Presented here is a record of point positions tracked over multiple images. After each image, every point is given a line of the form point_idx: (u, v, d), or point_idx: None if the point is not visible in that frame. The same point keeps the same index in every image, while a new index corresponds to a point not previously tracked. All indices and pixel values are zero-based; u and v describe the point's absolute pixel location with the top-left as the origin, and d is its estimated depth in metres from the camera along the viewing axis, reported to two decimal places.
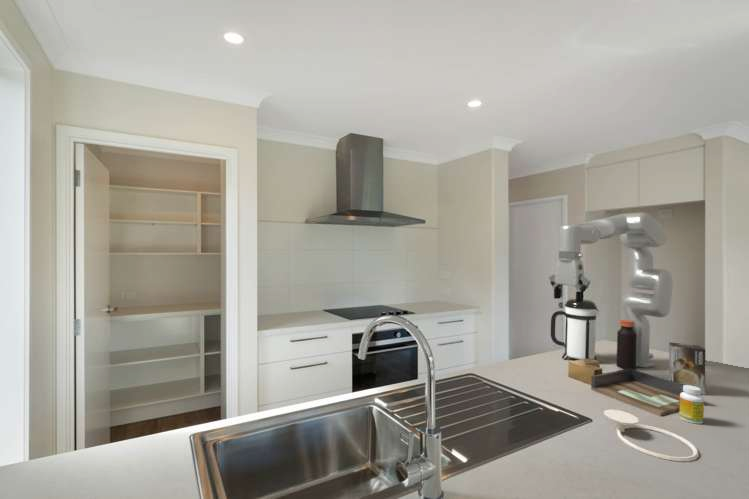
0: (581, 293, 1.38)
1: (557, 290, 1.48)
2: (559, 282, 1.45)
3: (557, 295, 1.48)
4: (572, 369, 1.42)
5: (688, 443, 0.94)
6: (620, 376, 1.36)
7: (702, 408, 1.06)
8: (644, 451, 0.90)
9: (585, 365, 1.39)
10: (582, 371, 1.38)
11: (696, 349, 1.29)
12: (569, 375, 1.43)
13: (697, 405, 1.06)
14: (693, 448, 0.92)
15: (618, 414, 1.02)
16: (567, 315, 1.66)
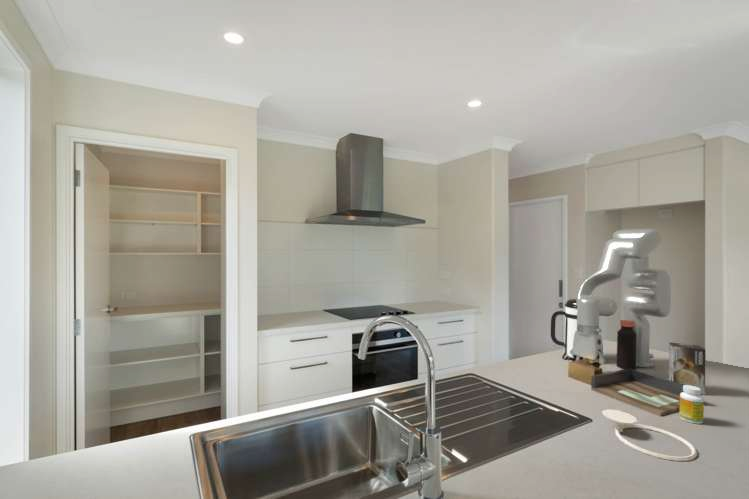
0: None
1: None
2: (577, 354, 1.46)
3: None
4: (572, 369, 1.42)
5: (686, 442, 0.95)
6: (620, 376, 1.36)
7: (702, 408, 1.06)
8: (643, 451, 0.90)
9: (585, 365, 1.39)
10: (582, 371, 1.38)
11: (696, 349, 1.29)
12: (569, 375, 1.43)
13: (697, 405, 1.06)
14: (691, 447, 0.92)
15: (617, 414, 1.02)
16: (567, 315, 1.66)
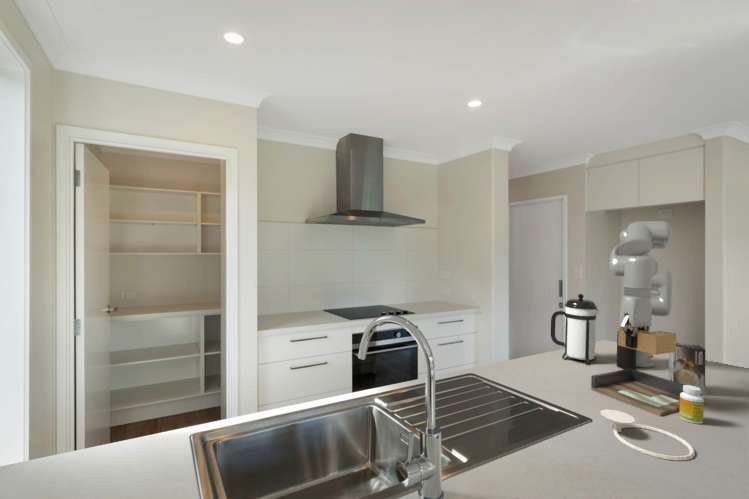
0: None
1: None
2: (638, 325, 1.21)
3: None
4: (659, 343, 1.17)
5: (684, 442, 0.95)
6: (620, 376, 1.36)
7: (702, 408, 1.06)
8: (642, 451, 0.90)
9: (661, 333, 1.20)
10: (667, 340, 1.19)
11: (696, 349, 1.29)
12: (656, 352, 1.17)
13: (697, 405, 1.06)
14: (689, 447, 0.93)
15: (615, 414, 1.02)
16: (567, 315, 1.66)
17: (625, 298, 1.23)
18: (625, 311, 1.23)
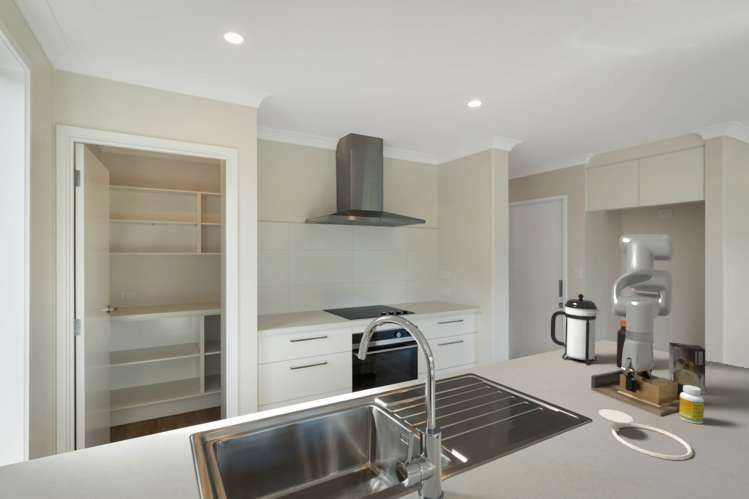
0: None
1: None
2: (640, 370, 1.20)
3: None
4: (661, 393, 1.17)
5: (681, 441, 0.95)
6: None
7: (702, 408, 1.06)
8: (641, 451, 0.90)
9: (663, 382, 1.20)
10: (669, 390, 1.18)
11: (696, 349, 1.29)
12: (659, 403, 1.16)
13: (697, 405, 1.06)
14: (687, 446, 0.93)
15: (613, 414, 1.03)
16: (567, 315, 1.66)
17: (627, 342, 1.22)
18: (627, 355, 1.22)
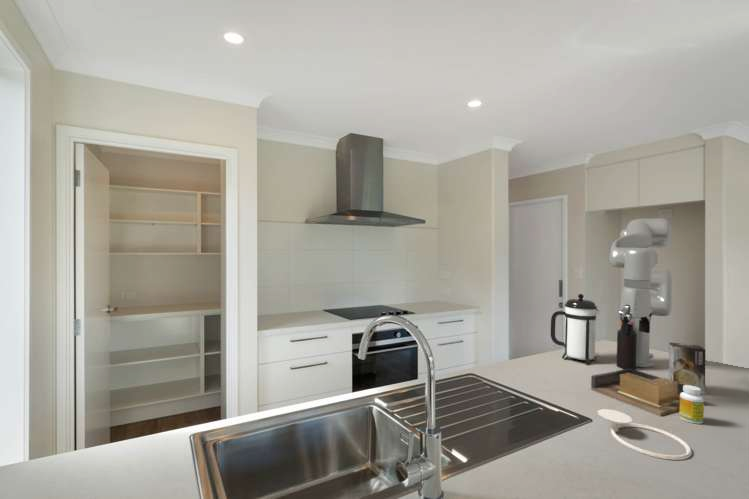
0: None
1: None
2: (638, 316, 1.24)
3: None
4: (661, 393, 1.17)
5: (680, 440, 0.95)
6: None
7: (702, 408, 1.06)
8: (640, 451, 0.91)
9: (663, 382, 1.20)
10: (669, 390, 1.18)
11: (696, 349, 1.29)
12: (659, 403, 1.16)
13: (697, 405, 1.06)
14: (686, 445, 0.93)
15: (612, 414, 1.03)
16: (567, 315, 1.66)
17: (626, 290, 1.26)
18: (626, 302, 1.25)
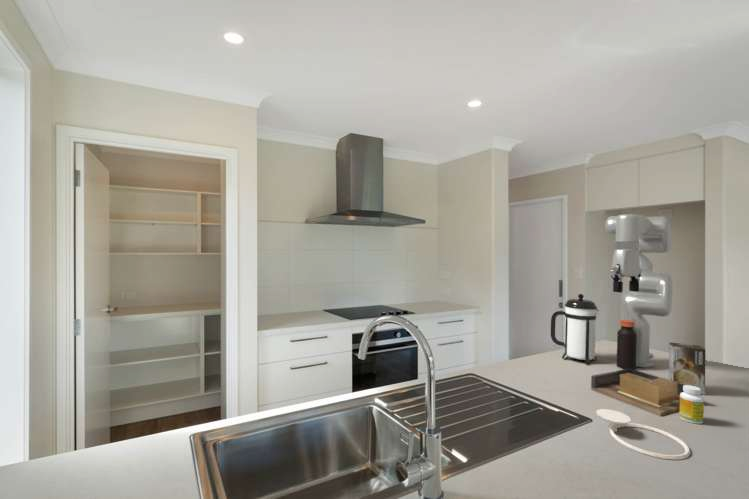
0: None
1: None
2: (628, 274, 1.37)
3: None
4: (661, 393, 1.17)
5: (678, 440, 0.96)
6: None
7: (702, 408, 1.06)
8: (639, 450, 0.91)
9: (663, 382, 1.20)
10: (669, 390, 1.18)
11: (696, 349, 1.29)
12: (659, 403, 1.16)
13: (697, 405, 1.06)
14: (684, 445, 0.93)
15: (611, 414, 1.03)
16: (567, 315, 1.66)
17: (617, 251, 1.39)
18: (617, 262, 1.38)
